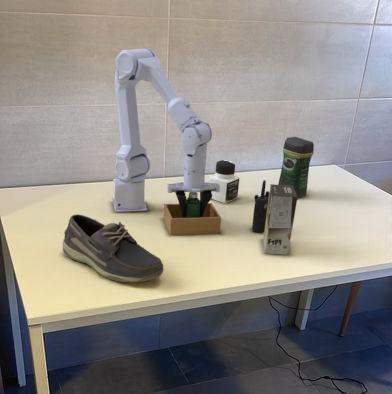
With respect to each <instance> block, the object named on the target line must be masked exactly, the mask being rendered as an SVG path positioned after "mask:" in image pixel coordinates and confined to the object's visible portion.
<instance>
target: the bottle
mask: <svg viewBox="0 0 392 394" xmlns="http://www.w3.org/2000/svg"><path fill="white" fill-rule="evenodd" d="M198 193H199V192H188V197H187V198H186V204H185V218H200V210H201V201H200V198H199V197H198Z"/></svg>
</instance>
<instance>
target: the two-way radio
mask: <svg viewBox="0 0 392 394" xmlns="http://www.w3.org/2000/svg"><path fill="white" fill-rule="evenodd" d="M266 185H267V180H264V179H263V181H262V186H261V191H260V195H258V194H255V195H254V197H253V200H254V206H253V214H252V215H253V216H252V224H251V225H252V226H251V228H252V229H251V230H252V231H253V232H256V233H261V232H264V230H265V222H266V215H267V207H268V200H269V192H270V190H269V191H268V190H267V191H266Z"/></svg>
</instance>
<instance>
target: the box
mask: <svg viewBox="0 0 392 394" xmlns="http://www.w3.org/2000/svg"><path fill="white" fill-rule="evenodd" d="M163 222H164V224H165V226H166V228H167V231H168V233H169V235H170V236H181V235H183V236H184V235H213V234H214V235H215V234H217V235H219V234H221V225H222V217H221V215H220V213H219V212H218V211H217V209H216V207H215V206H214V204H213V203H212V202H209V203H208V204H207V206H206V209H205V211H204V214H203V217H200V218H182V216H181V209H180V205H179V203H164V204H163Z"/></svg>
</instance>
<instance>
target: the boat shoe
mask: <svg viewBox="0 0 392 394" xmlns="http://www.w3.org/2000/svg"><path fill="white" fill-rule="evenodd" d="M125 227H126V225H125V224H122V222H121V221H119V222H118V223H116V222H111V223H107V224H104V223H102V222H99V221H98V220H97V219H94V218H91V217H89V216H87V215H83V214H72V215H71V216H70V218H69V219H68V223H67V227H66V229H65V230H64V233H63V234H64V238H63V241H62V251H63V253H64V254H65V256H66V257H68V258H70V259H71V260H74V261H76V262H79V263H83V264H86V265H88V266H89V267H90V268H92V270H94V271H95V272H96V273H98V274H99V275H101V276H102V277H104V278H106V279H109V280H112V281H116V282H121V283H143V282H146V281H151V280H153V279H156V278H158V277H160V276H162V274H163V273H164V264H163V262H162V259H161V258H160V257H158V256H156V255H155V254H153V253H151V252H150V251H149V250H147V249H145V248H144V247H143V246H141V245H140V244H138V242H137V240H136V239H135V238H134V237H133V235H131V234H130V233H129V230H128V229H126V228H125Z"/></svg>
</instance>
